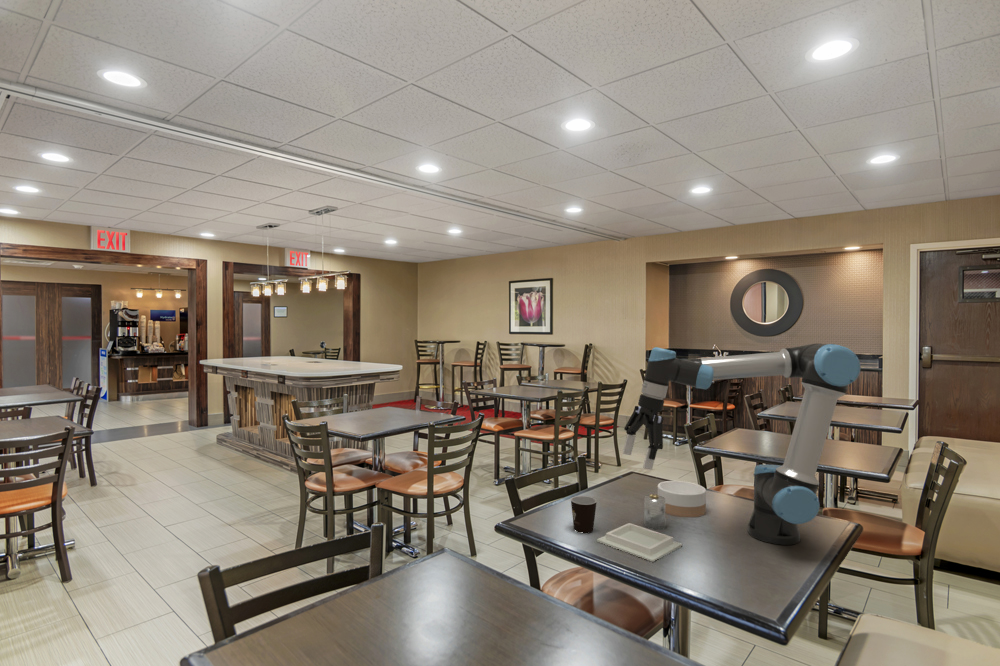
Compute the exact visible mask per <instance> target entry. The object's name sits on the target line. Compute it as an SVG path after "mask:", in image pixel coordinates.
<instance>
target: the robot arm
mask: <svg viewBox="0 0 1000 666" xmlns="http://www.w3.org/2000/svg"><path fill="white" fill-rule="evenodd" d="M861 368H862V367H861V362H860V359H859V357H858V356H857V355H856V353H855V352H854V351H852V349H850V348H848V347H846V346H842V345H839V344H835V343H834V344H833V343H811V344H805V345H800V346H794V347H787V348H786V347H785V348H781V349H780V350H779V351H775V352H774V351H773V352H760V353H752V354H751V353H750V354H738V355H727V356H726V355H724V356H713V357H700V358H677V351H675V350H670V349H666V348H662V347H658V346H656V347H655V346H654V347H653V348H651V352H650V355H649V358H648V361H647V366H646V370H645V375H644V378H643V379H644V380H643V383H642V385H641V386H642V388H641V391H640V392H641V393H640V394H639V395H640V396H639V398H638V403H637V405H635V406H634V408H633V412H632V414H630V417H629V419H628V420H627V422H626V424H625V426H624V427H623V428H624V431H626V438H625V443H624V447H623V449H622V454H623V455H629V456H632V452H633V448H634V444H635V440H636V436H637V435H636V434H637V432H638V431H639V430H640V429H641V428H642V426H643V425H644V426H645V429H646V430H647V435H648V441H649V445H648V446H647V450H646V453H645V458H644V463H643V467H642V468H643V469H645V470H650V471H653V467H654V464H655V460H656V457H657V454H658V453H657V452H658V450H663V448H664V437H663V436H664V435H663V423H664V416H660V415H658V414H659V412H662V411H663V409H664V405H665V400H664V399H666V398H667V397H666V396H667V392H668V388H669V385H670V382H672V383H677V384H680V385H685V386H689V387H693V388H695V389H701V390H707V389H709V388H710V387H711V385H712V383H713V381H716V380H719V381H720V380H729V379H731V380H732V379H745V378H746V379H747V378H756V377H757V378H761V377H775V376H783V377H784V378H786V379H788V378H789V379H790V378H796V379H797V378H799V379H801V382H800V384H801V385H802V386H803V389H804V392H803V396H802V399H801V401H800V402H801V403H800V406H799V410H798V412H797V413H798V414H797V416H796V420H795V423H794V427H793V429H792V433H791V437H790V440H789V444H788V447H787V451H786V454H785V457H784V460H783V464H782V465H781V464H780V465H778V464H764V463H763V464H757V465H755V467H754V472H753V478H754V480H753V511H752V513H751V516H750V519H749V521H748V523H747V532H748V534H749V535H750V536H751V537H753V538H754V539H756V540H758V541H762V542H765V543H769V544H774V545H785V546H790V545H796V544H798V543H800V541H801V533H800V529H799V525H802V524H807V523H808V522H811V521H813V519H815V518H816V516H818V513H819V511H820V506H821V505H820V500H819V497H818V496H817V492H818V489H819V486H820V485H819V484H820V482H819V480H818V479H817V476H816V473H817V469H818V467H819V464H820V461H821V457H822V453H823V450H824V446H825V444H826V439H827V437H828V432H829V430H830V426H831V423H832V419H833V416H834V412H835V409H836V406H837V402H838V399H840V398H841V397H843V396H846V394H847V390H848V388H849V385H850V384H853V383H854V382H855V381H856V380H857V379H858V378H859V375H860V374H861Z"/></svg>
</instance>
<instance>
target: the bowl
mask: <svg viewBox="0 0 1000 666" xmlns="http://www.w3.org/2000/svg"><path fill="white" fill-rule="evenodd" d="M657 495H658V496H662V497H664V498H665V515H670V516H674V517H681V518H699V517H702V516H704V515H705V514H706V511H707V510H706V509H707V489H706V488H705V487H704V486H702V485H701V484H698V483H694V482H690V481H684V480H667V481H661V482H659V483H658V484H657Z"/></svg>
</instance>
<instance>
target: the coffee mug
mask: <svg viewBox="0 0 1000 666" xmlns="http://www.w3.org/2000/svg"><path fill="white" fill-rule="evenodd" d="M570 502H571V503H570V506H571V513H572V522H573V530H574V529H575V530H576V531H578V532H583V533H582V534H589V533H588V532H591V533H593V532H594V526H595V518H596V510H597V499H596V498H594V497H591V496H587V495H578V496H573V497H571V498H570ZM575 530H574V531H575ZM576 531H575V532H576ZM592 531H593V532H592ZM578 532H577V533H578Z"/></svg>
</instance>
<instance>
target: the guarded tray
mask: <svg viewBox="0 0 1000 666" xmlns="http://www.w3.org/2000/svg"><path fill="white" fill-rule="evenodd" d="M596 542H597V543H599V542H600V543H599V544H601V543H603V544H602V545H604V544H605V545H604V546H607V545H608V546H607V547H609V546H611V547H610V548H612V547H613V549H614V548H616V549H615V550H617V549H619V550H618V551H620V550H622V551H625V552H628V553H630V554H633V555H636V556H638V557H642V558H644V559H647V560H650V561H655V560H657V559H659V558H661V557H662V556H664V555H666V554H668V553H670V552H671V553H673V552H674V550H675V551H677V550H678V548H679V549H681V548H682V547H683V543H681V542H677V541H675V540H674V537H673V536H670V535H668V534H665V533H660V532H658V531H655V530H653V529H650V528H647V527H643V526H640V525H636V524H634V523H631V522H628V523H626V524H624V525H622V526H619V527H617V528H615V529H611V530H610V531H607V532H606V533H605V535H603V536H601V537H599V538H597V539H596ZM681 546H682V547H681ZM676 549H677V550H676ZM622 551H621V552H622ZM672 551H673V552H672ZM625 552H624V553H625ZM628 553H627V554H628ZM671 553H670V554H671ZM630 554H629V555H630ZM633 555H632V556H633ZM668 555H669V554H668ZM636 556H635V557H636ZM666 556H667V555H666ZM638 557H637V558H638ZM664 557H665V556H664ZM644 559H643V560H644ZM661 559H662V558H661ZM659 560H660V559H659ZM657 561H658V560H657Z"/></svg>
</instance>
